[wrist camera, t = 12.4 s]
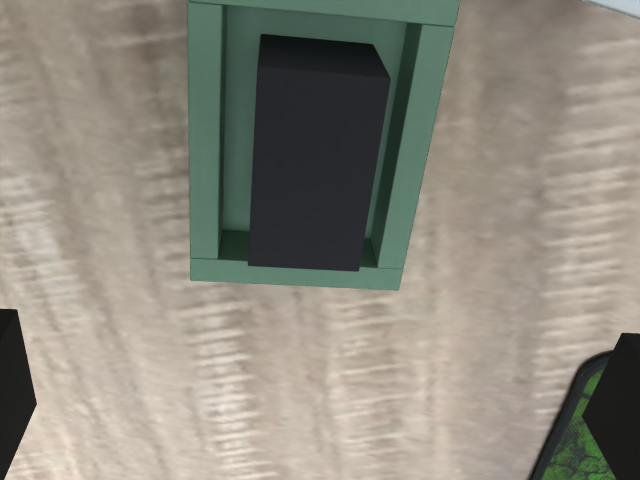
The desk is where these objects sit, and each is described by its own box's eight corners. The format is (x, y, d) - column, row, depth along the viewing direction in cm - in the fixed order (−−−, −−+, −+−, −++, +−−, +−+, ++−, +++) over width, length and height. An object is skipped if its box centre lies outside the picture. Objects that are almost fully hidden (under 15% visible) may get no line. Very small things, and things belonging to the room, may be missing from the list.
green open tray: (197, -50, 23) (186, -37, 20) (441, -24, 24) (462, -9, 21) (198, 241, 29) (190, 281, 27) (387, 251, 30) (398, 290, 28)
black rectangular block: (260, 33, 24) (257, 66, 20) (373, 43, 24) (391, 77, 20) (251, 211, 28) (247, 266, 24) (348, 217, 28) (359, 272, 24)
